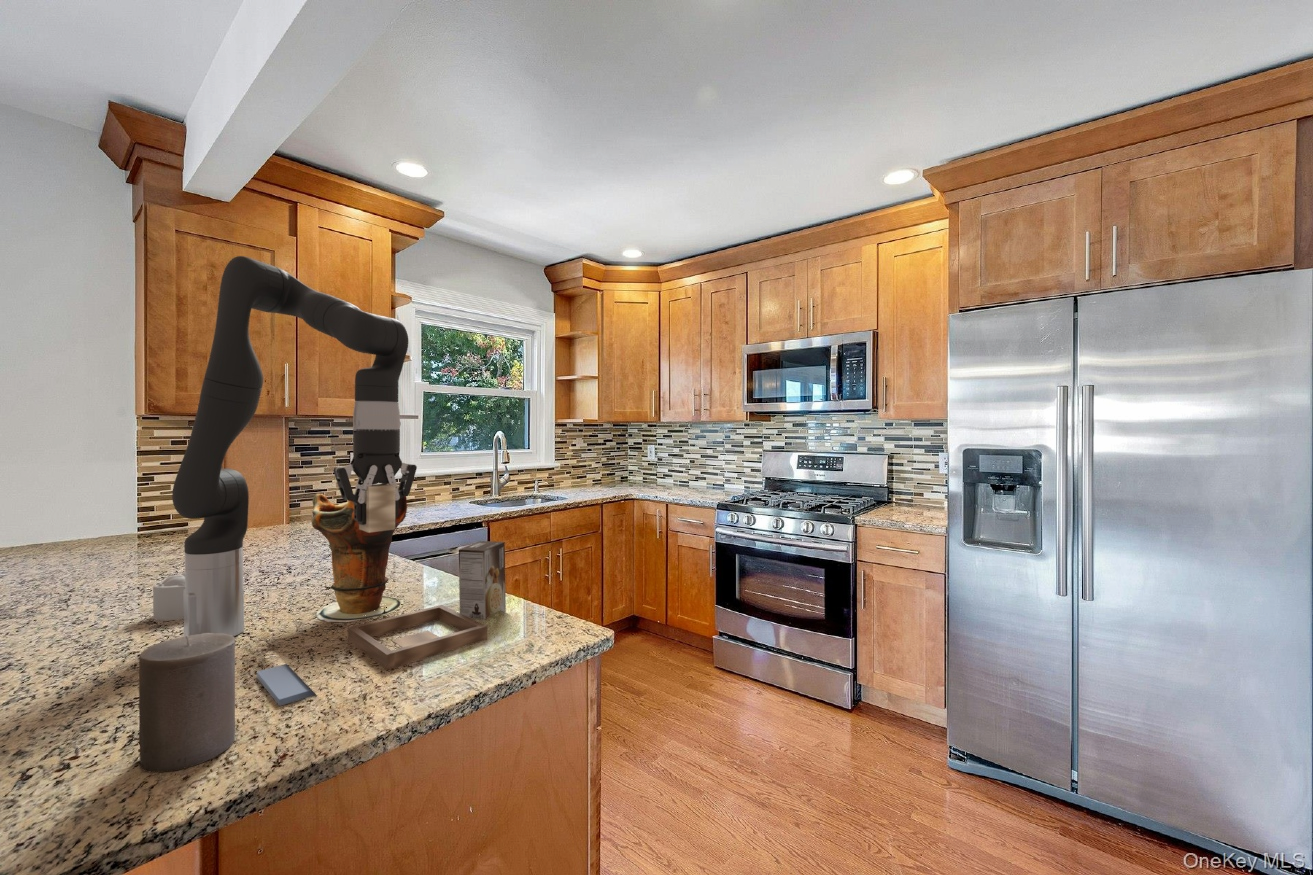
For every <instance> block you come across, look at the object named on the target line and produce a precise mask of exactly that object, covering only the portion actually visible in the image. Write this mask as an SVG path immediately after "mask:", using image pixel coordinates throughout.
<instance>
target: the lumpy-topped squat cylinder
mask: <svg viewBox="0 0 1313 875" xmlns="http://www.w3.org/2000/svg"><path fill="white" fill-rule="evenodd" d="M184 589H185V571H184V572H182V573H181V574H173V575H170V576H168V577H166V578H165V579H164V580H163V581H161V582H158V583H155V584H154V585H153V586H152V610H153V611H152V612H153V620H155V621H177V620H184V601H183V591H184Z"/></svg>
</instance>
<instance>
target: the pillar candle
mask: <svg viewBox="0 0 1313 875" xmlns="http://www.w3.org/2000/svg"><path fill="white" fill-rule="evenodd" d="M138 658H139V661H138V662H139V663H138V677H139V678H138V711H139V719H138V720H139V721H138V724H139V725H138V727H139V730H138V731H139V735H138V738H139V740H138V745H139V761H138V766H139V768H140V769H141V770H142V771H143V772H147V773H165V772H167V773H168V772H173V771H178V770H182V769H186V768H187V769H188V768H191V767H195V766H197V765H200V764H202V763H205V762H207V761H209V760H212V759H213V758H215V757H217V756H219V755H221V754H222V753H224V752H225V751H226V750H229V748H230V747H231V746H232V745H233V743H234V742H235V740H236V739H235V738H236V737H235V735H236V730H235V729H236V677H235V676H236V660H235V659H236V636H232V635H228V634H221V633H203V634H196V635H190V636H184V635H183V636H181V637H175V638H171V639H167V640H164V641H161V642H158V643H156V644H153V645H151V646H149V647H147V648H145V649H144V650H142V651H141V652H140V654H139V657H138Z"/></svg>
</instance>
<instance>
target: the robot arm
mask: <svg viewBox="0 0 1313 875" xmlns="http://www.w3.org/2000/svg"><path fill="white" fill-rule="evenodd" d="M217 305H218V306H217V310H216V311H217V313H216V322H215V329H214V334H213V339H212V346H211V350H210V354H209V358H208V362H207V366H206V370H205V373H204V378H203V382H202V386H201V391H200V394H199V401H198V407H197V410H196V414H195V418H194V422H193V424H192V425H193V426H192V429H191V434H190V438H189V440H188V443H187V447H186V450H185V452H184V456H183V458H182V461H181V463H180V466H179V468H178V472H177V475H176V477H175V479H174V482H173V486H172V487H173V488H172V495H171V496H172V497H171V498H172V499H171V500H172V504H173V507H174V509H175V511H176V512H177V514H179V515H180V516H181V517H183V518H185V519H190V520H191V519H193V520H194V519H196V520H197V519H203V521H202V523H201V525H200V527H198V528H197V530H195V531H194V532H193V533H192V534H190V535H188V536H187V537H186V538H185V540H184V544H183V546H184V572H185V589H184V591H183V601H184V619H183V637H184V636H190V635H196V634H203V633H221V634H228V635H232V636H233V637H236V636H237V635H240V634H242V633H243V632H244V630H245V596H244V594H245V593H244V592H245V591H244V538H245V536H246V534H247V531H248V523H249V501H250V495H249V492H250V491H249V486H248V482H247V481H246V480H247V479H245V477H244V475H243V474H242V473H241V472H240V471H238V470H235V469H233V468H222V467H223V463H224V459H225V456H226V455H227V453H228V450H229V449H230V447H231V446H232V444H233V442H234V441H235V440H236V439H237V437H238V436H239V435H240V433H241V432H243V430H245V428H246V427H247V426H248V424H249V423H250V422H251V420H252V419H253V418H254V416H255V414H256V412H257V409H258V406H259V402H260V398H261V396H262V395H261V393H262V390H263V386H264V385H263V384H264V375H263V371H262V368H261V365H260V362H259V360H258V357H257V355H256V352H255V351H254V348H253V346H252V343H251V339H250V332H249V330H250V329H249V328H250V318H251V312H252V310H256V311H261V312H263V313H264V312H265V313H271V314H278V315H280V314H281V315H287V316H291V317H295V318H296V317H297V318H299V319H301V320H303V321H304V323H305V324H306V325H308V326H309V327H311V328H313V329H314V330H315V331H318V332H320V333H323V334H324V335H327V336H329V337H331V338H334V339H336V340H337V341H338V342H339V343H341V344H342V345H343V346H345V347H346V348H348V349H350V350H353V351H356V352H358V353H362V354H368V355H375V358H374V361H373V364H372V365H371V366H370V367H363V368H360V369H358V370H356V373H355V376H354V408H353V414H352V418H353V419H352V420H353V421H352V424H353V425H352V427H353V428H352V441H353V442H352V453H353V455H352V456H353V457H352V460H351V461H350V463H349V464H348V465H344V466H336V467H334V468H333V474H334V476H335V480H336V484H337V486H338V491H339V492H340V495H341V498H342V499H343V500H345V501H347V502H349V501H352V502H353V503H354V519H355V521H357V522H358V524H360V525H365V524H366V504H365V500H366V497H367V490H368V487H369V486H371V485H372V484H377V483H382V484H389V485H395V520H396V518H397V517H398V515H399V499H400V498H402V497H404V496H406V497H408V496H409V495H410V493H411V489H412V485H413V482H414V478H415V476H416V472H417V468H418V467H417V465H416V464H414V463H413V464H412V463H405V462H402V459H401V456H400V451H401V426H402V425H401V413H400V406H399V380H400V377H401V374H402V370H403V366H404V362H405V360H406V356H407V353H408V349H409V336H408V335H409V334H408V331H407V329H406V327H405V325H404V324H403V322H401V321H400V320H398V319H396V318H393V317H390V316H389V317H387V316H384V315H379V314H375V313H370V312H366V311H363V310H362V309H360V308H359V307H358V306H357V305H354V304H353V303H351V302H348V301H346V300H344V299H340V298H338V297H335V296H333V295H331V294H327V293H324V292H321V291H317V290H315V289H313V288H312V287H310V286H308V285H306V284H304V282H302V281H300V280H299V279H298V278H296V277H295V276H293V275H291V274H290V273H289V272H288V271H286V270H284V269H282V268H281V267H278V266H274V265H272V264H269V263H266V262H262V261H259V260H257V259H254V258H252V257H248V256H243V255H238V256H234V257H233V258H231V259H230V261H229V262H228V263H227V264H226V266H225V267H224V270H223V274H222V276H221V281H220V288H219V295H218V304H217ZM399 471H400V473H401V477H400V481H399V485H398V482H397V480H396V477H395V476H396V475H397V474H398V472H399ZM352 472H354V474H355V475H356V476H357V481H356V484H355V490H353V486H352V485H351V484H352V483H351V482H350V478H351V477H352ZM353 491H354V492H353Z"/></svg>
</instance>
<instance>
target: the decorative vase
mask: <svg viewBox="0 0 1313 875" xmlns="http://www.w3.org/2000/svg"><path fill="white" fill-rule="evenodd" d="M407 501H408V500H407V496H404V497H402V498H400V499H399V515H398V517H397V518H396V520H395V529H394V530H386V531H378V532H370V533H369V532H366V531H363V530H360V529H359V524H358V522H357V521H355V519H354V503H353V502H352V501H346V502H343V503H339V504H334V503H331V502H330V501H329V499H328V497H327V496H326V495H325V494H323V493H316V494H315V495H314V496H313V498H312V501H311V502H312V506H313V508H312V509H313V510H312V519H311V527H313V529H314V530H316V531H318V532H319V533H321V535H322V536H324V538H325V539H326V540H327V542H328V543H329V549H330V551H331V566H332V576H333V581H334V582H333V583H332V584H331V586H330V587H329V588H328V589H330V590H333V591H334V596H335V598H336V602H335V601H334V602H331V603H329V604H328V605H324V603H325V601H326V599H327V596H328V592H327V593H326V595H325V596H324V599H323V603H322V605H321V609H319V610H318V611H317V612H316V614H315V616H316V618H317V619H318V620H321V621H325V622H326V623H331V622H332V623H333V622H334V623H338V622H339V623H346V622H347V623H350V622H356V621H360V620H364V619H365V620H366V619H368V618H373V617H378V616H383V615H388V614H390V613H395V612H396V610H400V609H401V608H402V607H403V606H404V603H405V601H404V600H403V599H397V598H394V597H390V596H387V595H385V596H384V594H383V593H384V592H385V591H386V584H387V583H388V582H389V578H388V577H387V576H386V571H387V568H388V567H387V566H388V562H389V554H390V546H391V544H392V542H393V539H392V538H393V535H394V533H395V531H396V529H397V528H398V526H400V524H402V522H403V521H404V520H405V519H406V516H407V510H408V503H407ZM381 602H383V603H381ZM380 604H387V605H384V606H380ZM401 604H403V605H401ZM381 607H385V608H381ZM386 607H387V608H386ZM399 607H400V608H399ZM374 610H375V611H374ZM363 615H364V616H363ZM365 615H366V616H365Z"/></svg>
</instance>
